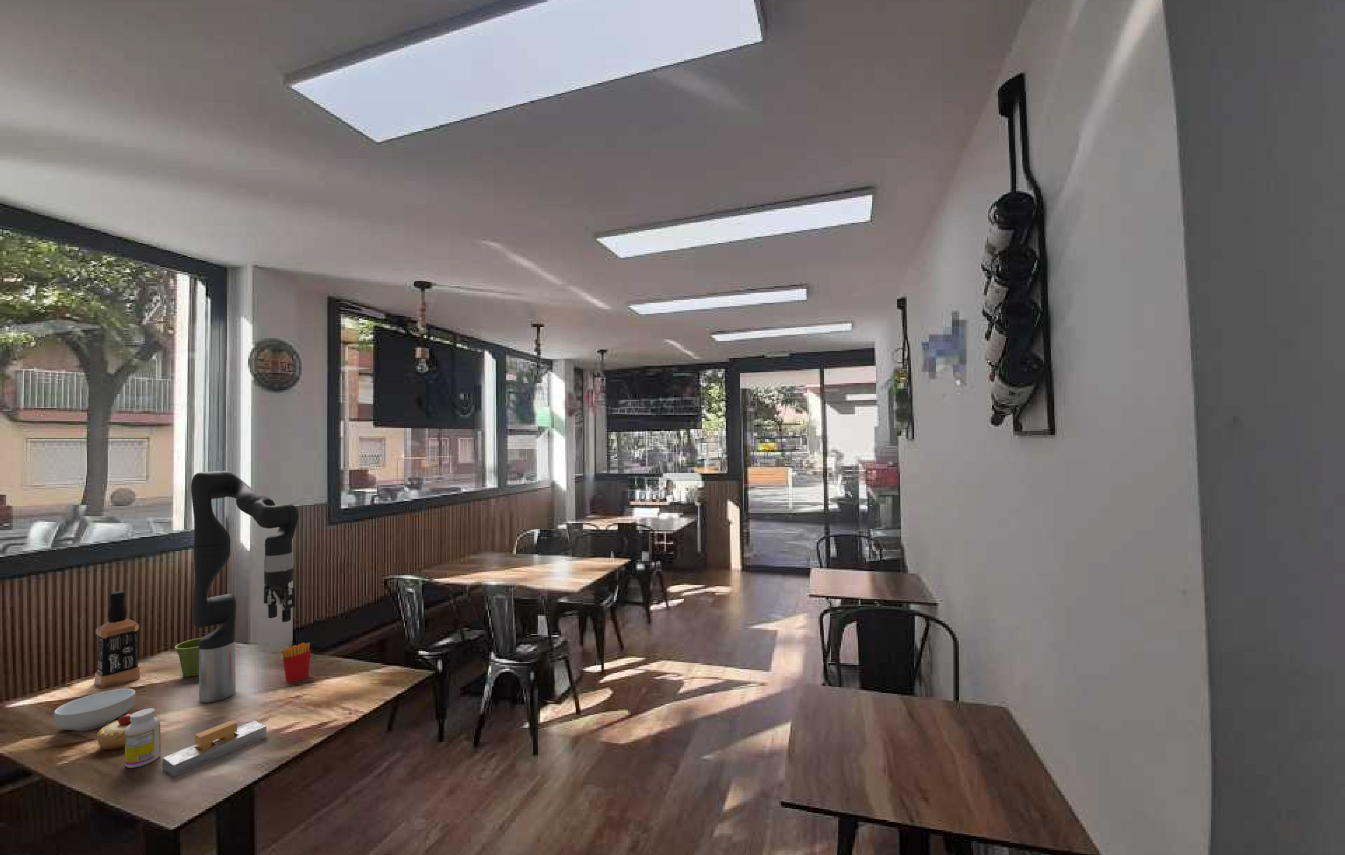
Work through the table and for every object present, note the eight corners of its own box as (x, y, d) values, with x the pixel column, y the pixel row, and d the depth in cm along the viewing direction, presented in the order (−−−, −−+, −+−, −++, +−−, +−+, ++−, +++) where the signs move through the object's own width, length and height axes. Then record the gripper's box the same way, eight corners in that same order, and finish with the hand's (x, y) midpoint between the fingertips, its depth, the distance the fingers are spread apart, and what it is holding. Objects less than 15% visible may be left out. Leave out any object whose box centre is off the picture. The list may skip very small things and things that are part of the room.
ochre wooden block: (195, 758, 139) (195, 734, 139) (232, 743, 146) (232, 720, 146) (200, 762, 138) (200, 737, 138) (237, 746, 145) (237, 722, 145)
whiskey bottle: (140, 678, 191) (140, 590, 191) (101, 690, 182) (101, 597, 183) (132, 672, 196) (132, 587, 197) (93, 683, 188) (93, 593, 189)
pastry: (103, 759, 141) (102, 726, 141) (92, 746, 147) (91, 714, 147) (164, 735, 151) (162, 705, 151) (151, 724, 158) (149, 695, 158)
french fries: (307, 673, 191) (307, 639, 191) (312, 675, 189) (312, 641, 189) (280, 682, 184) (279, 648, 184) (285, 684, 182) (284, 650, 182)
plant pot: (197, 680, 188) (197, 648, 188) (165, 680, 188) (165, 649, 188) (226, 665, 200) (226, 636, 200) (195, 666, 200) (195, 636, 200)
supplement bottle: (141, 755, 142) (141, 707, 142) (167, 753, 142) (167, 705, 143) (117, 770, 135) (117, 720, 135) (144, 768, 136) (144, 718, 136)
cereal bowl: (148, 714, 164) (148, 691, 164) (73, 743, 148) (73, 718, 149) (115, 706, 170) (115, 684, 170) (40, 734, 154) (40, 710, 154)
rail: (162, 769, 135) (162, 757, 135) (254, 730, 152) (254, 720, 152) (173, 777, 131) (173, 765, 131) (266, 736, 149) (266, 726, 149)
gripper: (254, 568, 166) (254, 620, 165) (276, 573, 159) (277, 626, 159) (281, 563, 172) (281, 613, 172) (303, 567, 166) (304, 618, 165)
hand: (279, 619), depth 165 cm, fingers open, 8 cm apart
